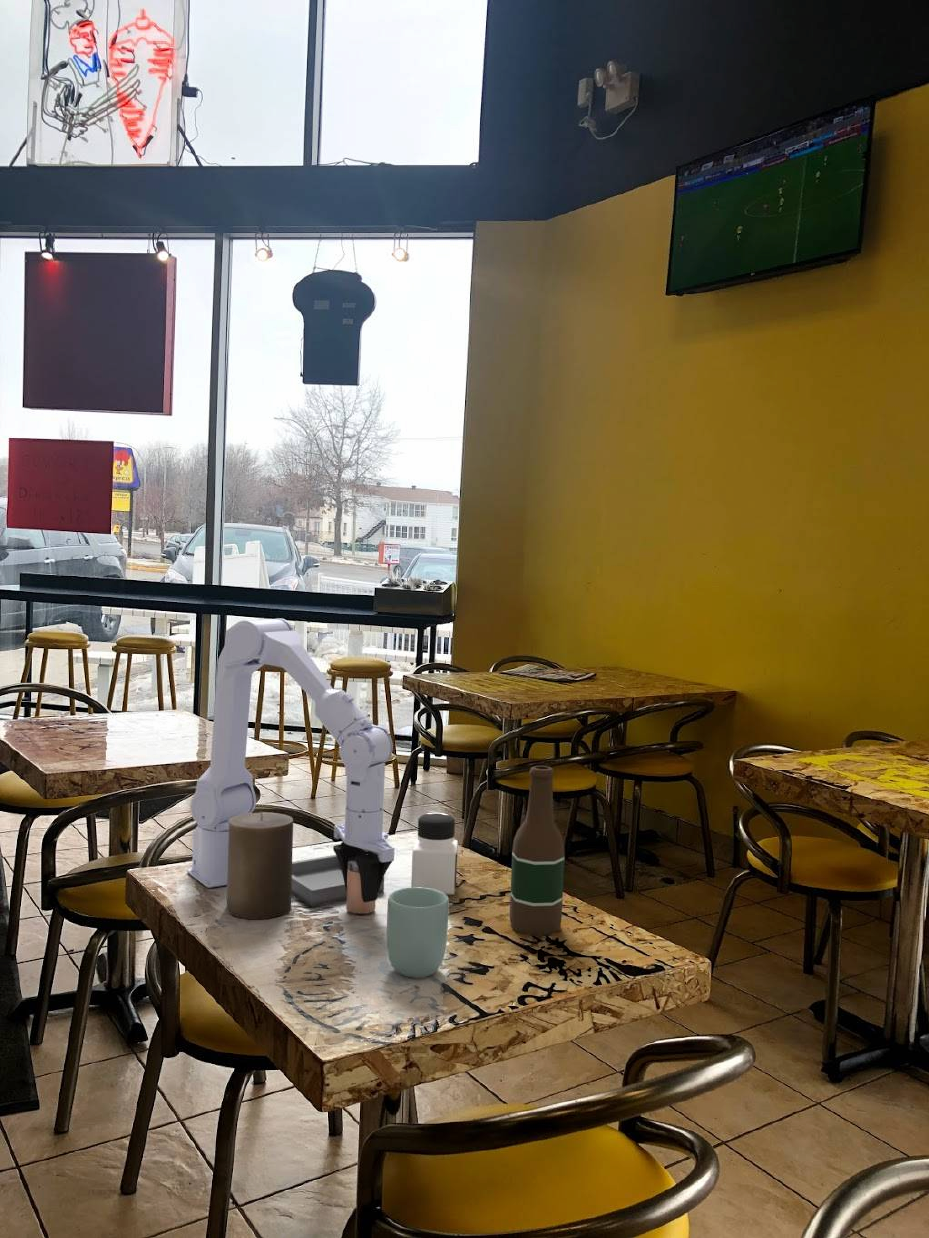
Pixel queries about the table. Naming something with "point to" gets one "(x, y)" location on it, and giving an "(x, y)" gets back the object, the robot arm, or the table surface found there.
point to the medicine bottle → (435, 853)
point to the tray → (320, 881)
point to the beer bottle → (537, 862)
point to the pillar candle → (259, 865)
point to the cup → (417, 930)
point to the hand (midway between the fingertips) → (361, 895)
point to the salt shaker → (356, 890)
